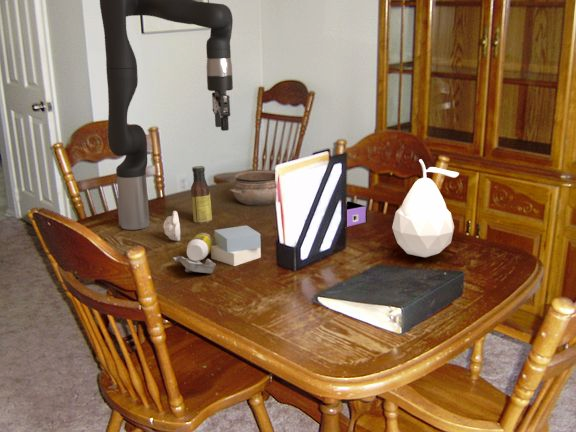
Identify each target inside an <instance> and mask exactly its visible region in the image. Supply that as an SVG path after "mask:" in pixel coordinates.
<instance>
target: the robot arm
mask: <svg viewBox="0 0 576 432" xmlns="http://www.w3.org/2000/svg"><path fill="white" fill-rule="evenodd" d="M99 7H100V13H101V20H102V26H103V34H104V46H105V47H104V48H105V49H104V51H105V57H106V58H105V59H106V60H105V66H106V82H107V83H106V84H107V99H108V100H107V101H108V116H107V117H108V119H107V141H108V146H109V149H110V151H111V152H112V154H114V156H117V157H123V156H125V157H124V159H123V161H122V162H121V163H120V164H119V165H117V167H116V168H115V169H116V170H115V172H116V183H117V196H118V197H117V198H116V202H117V213H118V224H119V227H120V228H121V229H122V230H132V231H133V230H135V231H136V230H142V229H146V228H148V227H150V224H151V223H150V213H149V199H148V187H147V186H148V185H147V172H146V170H147V166H148V140H147V135H146V132H145V130H144V128H143V127H142V126H141V125H139V124H128V112H129V107H130V105H131V103H132V100H133V98H134V95H135V93H136V91H137V87H138V83H139V81H138V79H139V78H138V77H139V76H138V64H137V59H136V55H135V52H134V50H133V48H132V45H131V43H130V40H129V37H128V32H127V17H131V16H133V17H134V16H145V17H146V16H147V17H148V16H149V17H155V18H159V19H163V20H165V21H168V22H169V21H170V22H174V23H179V24H185V25H196V26H199V27H202V28H207V29H210V36H209V38H208V39H207V40H206V47H205V48H206V58H207V59H206V84H207V85H206V86H207V90H208V91H209V92H212V93H211V99H212V112H213V115H214V122H215V123H214V124H215V125H214V126H215V127H216V128H220V131H222V132H223V131H229V129H230V127H229V117H231V105H230V104H231V103H230V95H228V94H227V91H232V90H233V88H234V87H233V85H234V84H233V82H234V81H233V65H232V58H231V57H232V56H231V55H232V54H231V53H232V51H231V38H232V33H233V32H232V31H233V20H234V19H233V14H232V11H231V8H230V7H229V6H228V5H226V4H224V3H223V4H222V3H215V2H205V1H197V0H99Z"/></svg>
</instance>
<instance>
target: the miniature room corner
mask: <svg viewBox="0 0 576 432" xmlns="http://www.w3.org/2000/svg"><path fill="white" fill-rule="evenodd" d="M346 202H347V205H348V206H347V227H352V226H355V225H360V224H363V223H367V213H368V208H367V206H366V205H363V204H360V203H357V202H353V201H349V200H348V201H346ZM347 227H346V228H347Z"/></svg>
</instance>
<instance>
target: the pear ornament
mask: <svg viewBox="0 0 576 432" xmlns="http://www.w3.org/2000/svg"><path fill="white" fill-rule="evenodd" d="M418 162H419V163H420V166H421V169H422V177H421V178H418V179H417V180H416V181H415V182H414V184H413V185H412V187H411V188H410V189H409V191H408V192H407V194H406V196H405V198H404V200H403V201H402V204H401V206H400V207H399V208H398V209H397V210H396V211H395V214H394V218H393V223H392V226H391V227H392V232H393V234H394V237H395V240H396V242H397V244H398V245H399V246H400V248H401V249H403V251H404V252H405V253H406V254H407V255H412V256H416V257H422V258H428V257H431V256H432V257H433V256H435V255H438V254H440V253H441V252H442V251H443V250H445V249H446V247H448V246H449V245H450V244H451V243H452V240H453V234H454V230H455V225H454V221H453V216H452V213H451V211H449V209H448V208H447V204H446V202H445V200H444V198H443V195H442V194H441V191H440V190H439V188H438V186H437V184H436V183H435V182H434V181H433V179H431V178H429V177H427V173H433V174H440V175H443V176H446V177H449V178H453V179H455V178H457V177H459V175H460V172H457V171H454V170H453V171H452V170H448V169H444V168H440V167H435V166H430V167H428V168H427V169H426V165H425V163H424V161H423V159H419V160H418Z"/></svg>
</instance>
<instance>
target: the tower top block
mask: <svg viewBox="0 0 576 432" xmlns="http://www.w3.org/2000/svg"><path fill="white" fill-rule="evenodd" d="M261 241H262V240H261V233H260V232H258V231H257V230H255V229H253V228H252V227H250V226H248V225H239V226H234V227H227V228H220V229H219V228H218V229H214V243H215V245H218V246H219V247H220V248H222V249H223V250H224V251H226V252H227V253H230V252H236V251H242V250H248V249H254V248H262V245H261Z"/></svg>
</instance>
